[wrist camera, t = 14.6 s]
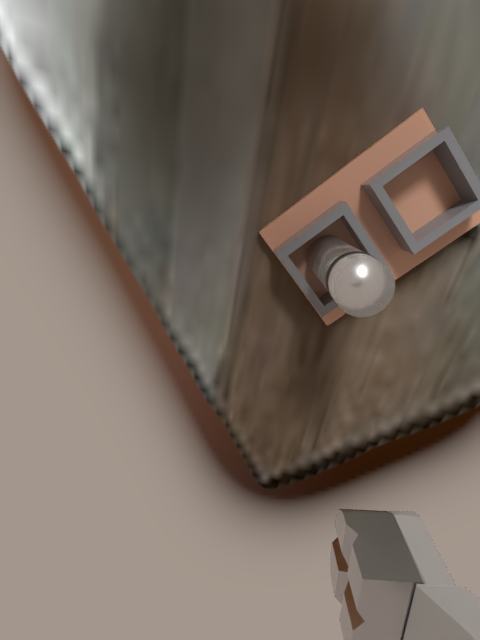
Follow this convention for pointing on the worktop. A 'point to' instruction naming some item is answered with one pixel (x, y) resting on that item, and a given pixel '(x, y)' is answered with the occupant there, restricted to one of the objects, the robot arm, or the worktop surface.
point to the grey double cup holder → (383, 206)
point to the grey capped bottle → (351, 276)
